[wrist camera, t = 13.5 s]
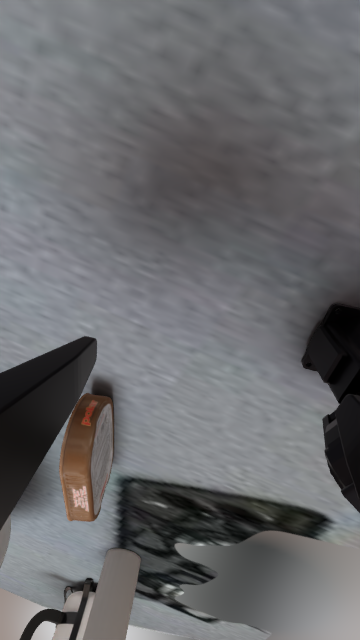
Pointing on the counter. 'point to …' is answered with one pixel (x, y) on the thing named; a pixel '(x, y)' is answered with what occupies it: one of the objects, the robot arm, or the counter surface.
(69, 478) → the tin
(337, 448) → the robot arm
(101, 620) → the bottle
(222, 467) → the counter surface
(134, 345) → the counter surface
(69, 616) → the coffee press
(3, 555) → the bowl
